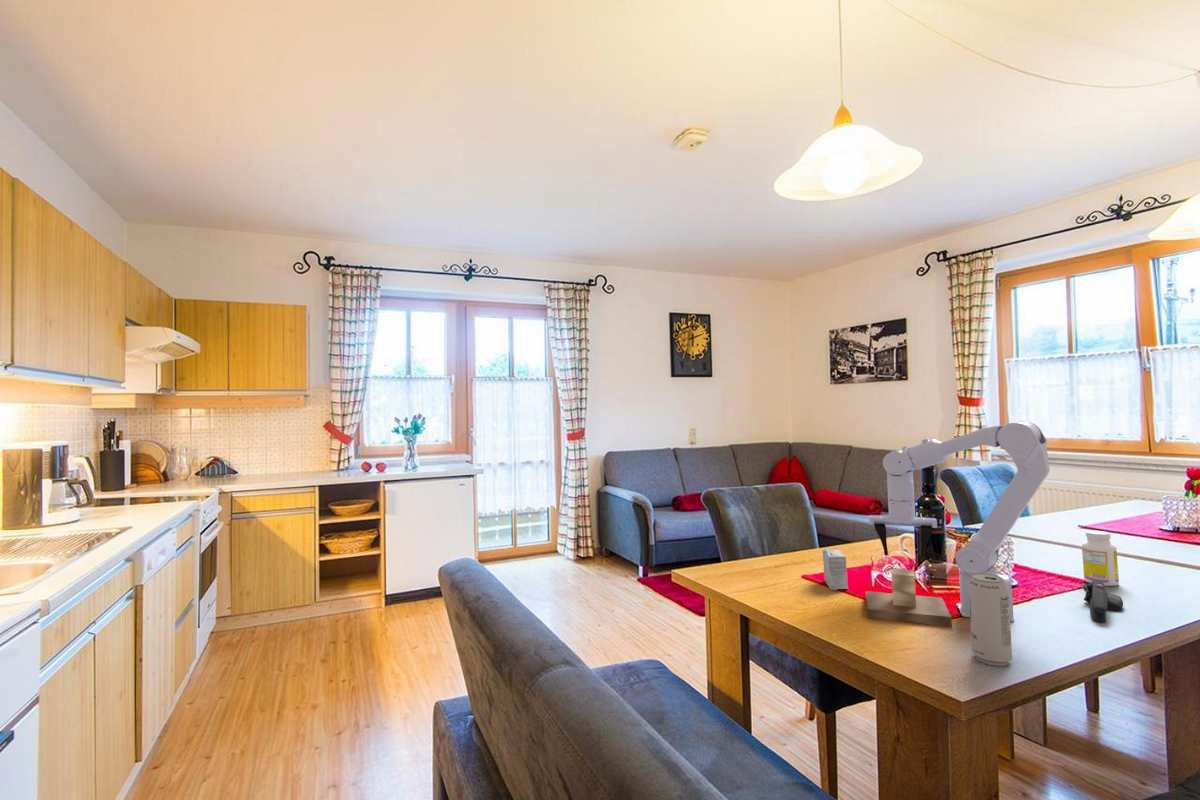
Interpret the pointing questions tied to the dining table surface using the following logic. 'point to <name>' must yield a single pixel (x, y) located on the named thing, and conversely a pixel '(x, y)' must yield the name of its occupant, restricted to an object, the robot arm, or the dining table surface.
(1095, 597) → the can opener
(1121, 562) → the dining table surface
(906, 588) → the maple block
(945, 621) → the taupe rectangular slab
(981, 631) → the energy drink can
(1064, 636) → the dining table surface
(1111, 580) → the supplement bottle
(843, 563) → the medicine box
